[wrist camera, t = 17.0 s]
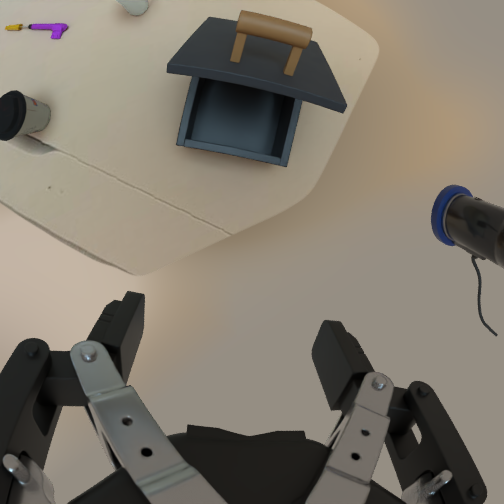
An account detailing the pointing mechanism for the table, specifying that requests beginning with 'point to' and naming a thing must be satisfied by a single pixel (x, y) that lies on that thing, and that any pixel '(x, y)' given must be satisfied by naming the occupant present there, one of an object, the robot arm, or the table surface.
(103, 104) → the table surface
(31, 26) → the purple yellow rod
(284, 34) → the lid
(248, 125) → the black open box
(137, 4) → the milkshake
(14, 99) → the coffee cup
